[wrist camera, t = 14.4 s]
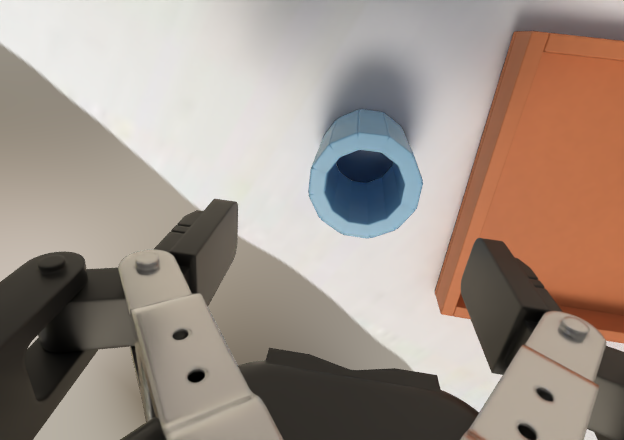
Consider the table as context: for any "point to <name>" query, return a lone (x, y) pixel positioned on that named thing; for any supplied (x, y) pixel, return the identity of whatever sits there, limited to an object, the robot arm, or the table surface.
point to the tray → (552, 177)
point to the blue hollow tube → (359, 195)
